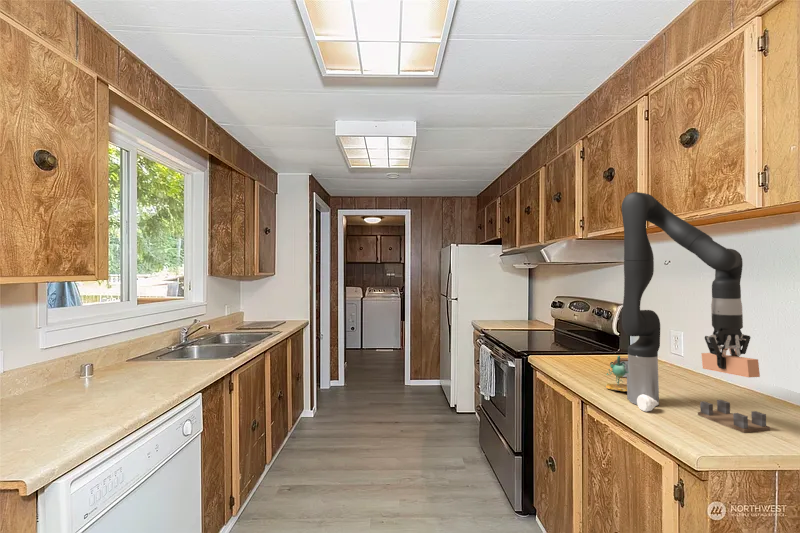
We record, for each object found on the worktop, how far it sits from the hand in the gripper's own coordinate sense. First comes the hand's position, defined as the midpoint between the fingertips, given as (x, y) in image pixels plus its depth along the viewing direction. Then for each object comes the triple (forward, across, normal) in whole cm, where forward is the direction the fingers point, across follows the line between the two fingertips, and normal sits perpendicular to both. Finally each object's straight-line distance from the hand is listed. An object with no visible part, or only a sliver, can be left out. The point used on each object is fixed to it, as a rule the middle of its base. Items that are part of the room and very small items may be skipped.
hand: (728, 367), depth 126 cm
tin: (+17, +5, +53) cm, 56 cm away
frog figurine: (+17, -11, +36) cm, 42 cm away
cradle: (+17, +1, 0) cm, 17 cm away
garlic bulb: (+17, -16, +14) cm, 27 cm away
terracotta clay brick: (+1, 0, 0) cm, 1 cm away
